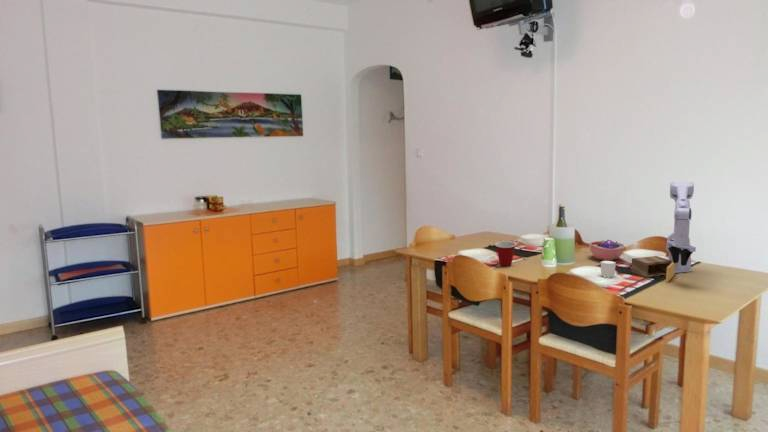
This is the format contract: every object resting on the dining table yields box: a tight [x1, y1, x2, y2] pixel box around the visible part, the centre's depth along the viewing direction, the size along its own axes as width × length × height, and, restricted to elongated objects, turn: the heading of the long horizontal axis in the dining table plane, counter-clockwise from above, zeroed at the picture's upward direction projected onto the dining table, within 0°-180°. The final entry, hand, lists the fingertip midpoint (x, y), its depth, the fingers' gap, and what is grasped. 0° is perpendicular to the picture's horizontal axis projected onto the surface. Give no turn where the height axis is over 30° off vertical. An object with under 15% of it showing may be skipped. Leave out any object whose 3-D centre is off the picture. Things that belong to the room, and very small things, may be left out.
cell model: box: [588, 239, 626, 261], centre depth 290 cm, size 17×20×11 cm
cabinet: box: [630, 255, 671, 278], centre depth 261 cm, size 14×10×7 cm
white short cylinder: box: [600, 260, 617, 278], centre depth 258 cm, size 7×7×7 cm
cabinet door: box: [665, 262, 676, 283], centre depth 251 cm, size 15×1×7 cm, turn 141°
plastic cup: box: [495, 240, 517, 268], centre depth 283 cm, size 11×11×12 cm
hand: (679, 264), depth 241 cm, fingers open, 4 cm apart
